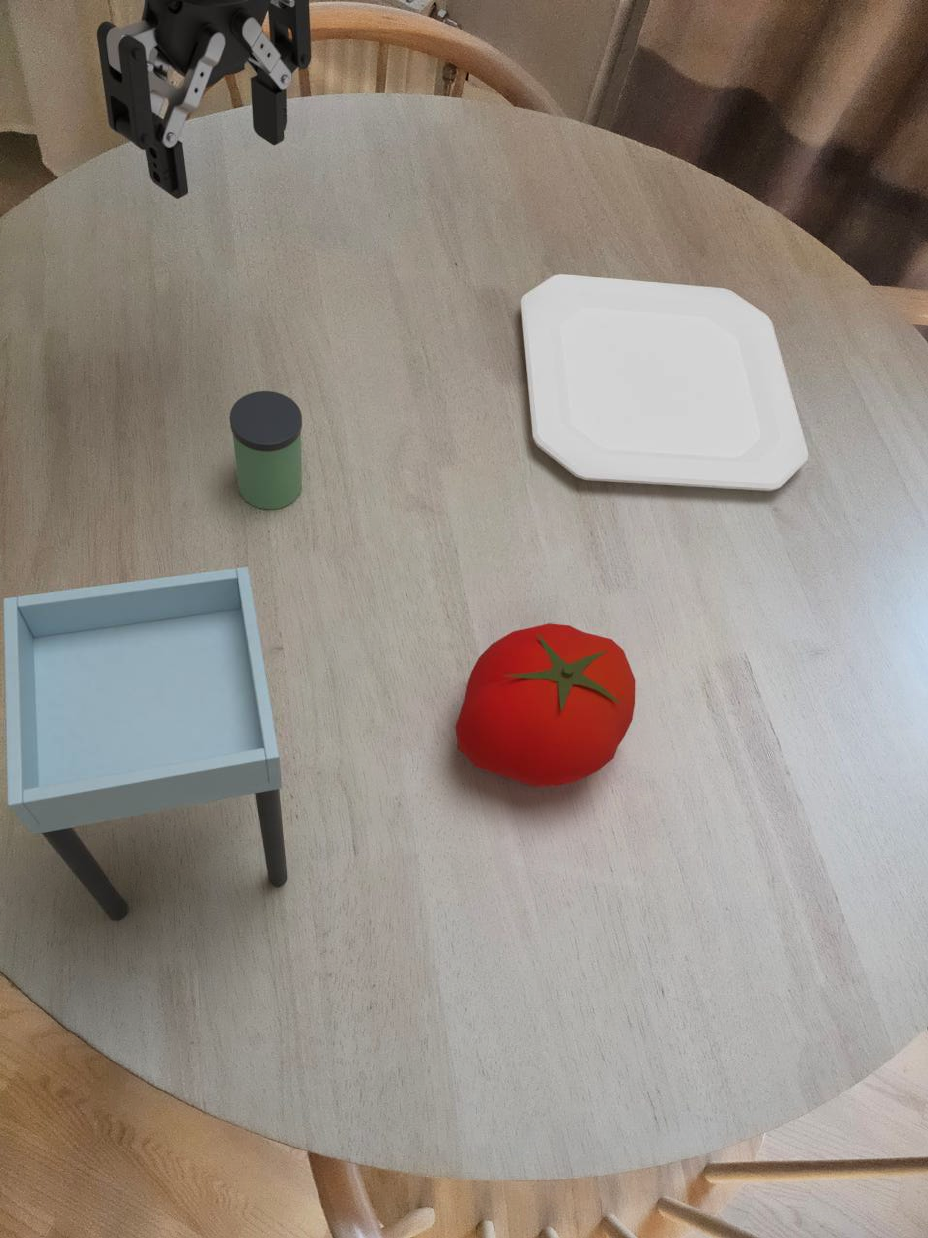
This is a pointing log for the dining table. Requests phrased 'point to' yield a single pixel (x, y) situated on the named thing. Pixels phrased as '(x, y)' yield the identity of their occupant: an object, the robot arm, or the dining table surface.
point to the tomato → (547, 705)
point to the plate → (658, 384)
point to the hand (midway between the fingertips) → (222, 163)
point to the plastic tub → (267, 448)
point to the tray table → (138, 711)
